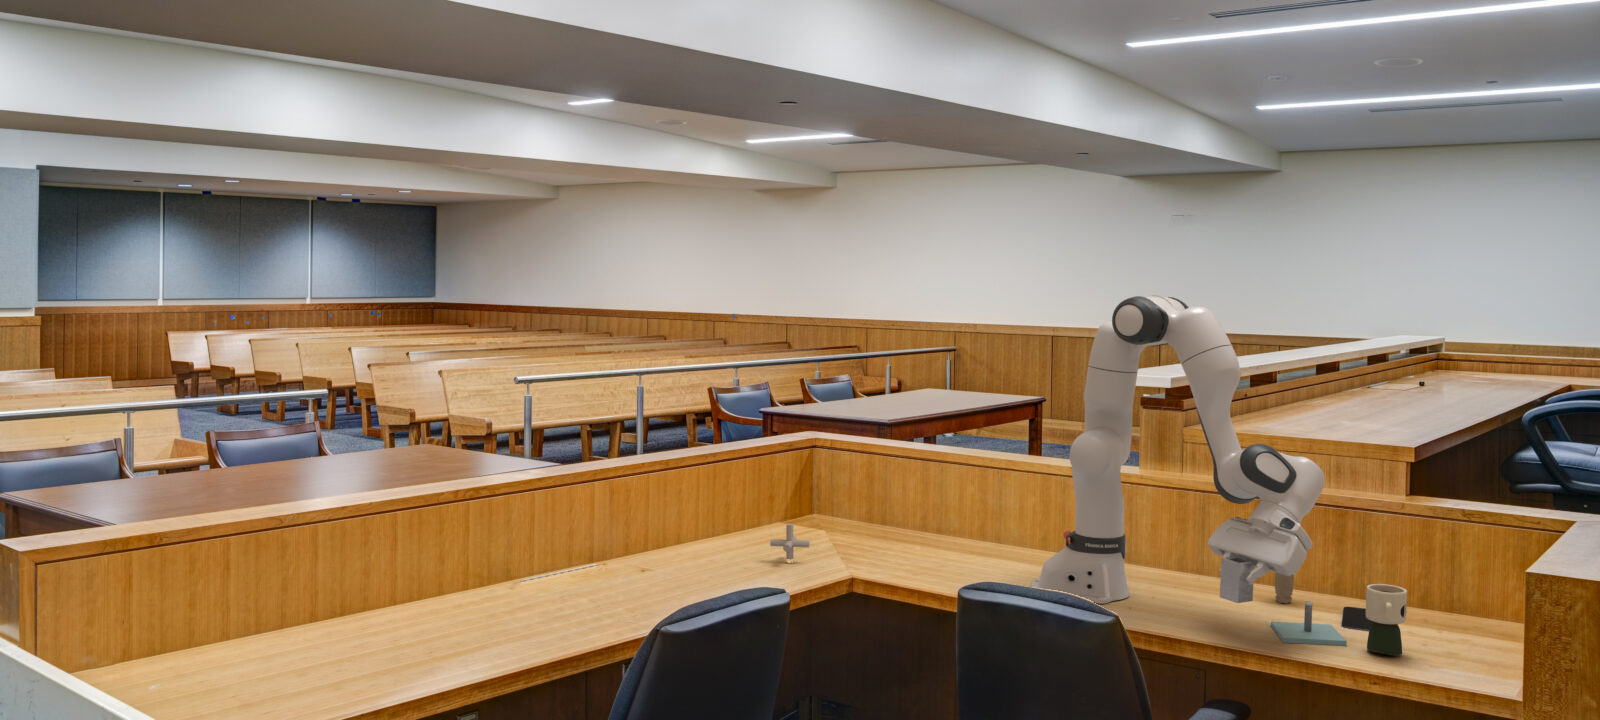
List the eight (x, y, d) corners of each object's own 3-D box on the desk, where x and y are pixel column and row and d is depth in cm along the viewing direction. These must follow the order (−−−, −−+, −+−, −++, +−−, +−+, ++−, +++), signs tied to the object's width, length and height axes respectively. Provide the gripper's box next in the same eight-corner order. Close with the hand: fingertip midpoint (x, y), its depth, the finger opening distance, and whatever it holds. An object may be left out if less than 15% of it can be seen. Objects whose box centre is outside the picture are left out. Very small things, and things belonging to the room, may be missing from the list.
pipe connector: (806, 568, 290) (806, 529, 289) (767, 566, 292) (767, 528, 291) (811, 558, 300) (811, 521, 299) (774, 557, 301) (774, 519, 301)
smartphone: (1340, 626, 242) (1343, 605, 255) (1340, 631, 242) (1343, 610, 255) (1379, 631, 239) (1380, 610, 252) (1379, 636, 239) (1379, 615, 252)
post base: (1283, 642, 232) (1284, 608, 232) (1270, 626, 243) (1271, 593, 242) (1346, 645, 230) (1347, 611, 229) (1331, 629, 241) (1332, 596, 240)
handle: (1302, 604, 259) (1304, 539, 257) (1274, 605, 258) (1276, 539, 257) (1292, 598, 263) (1294, 534, 262) (1264, 599, 263) (1266, 534, 262)
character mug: (1408, 664, 219) (1410, 597, 218) (1366, 659, 222) (1369, 593, 221) (1401, 647, 229) (1403, 583, 228) (1361, 642, 232) (1364, 579, 231)
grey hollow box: (1234, 594, 235) (1236, 556, 234) (1252, 600, 231) (1254, 561, 230) (1219, 597, 233) (1221, 558, 232) (1237, 603, 229) (1240, 564, 228)
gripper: (1223, 506, 243) (1188, 555, 239) (1306, 526, 225) (1269, 581, 221) (1237, 524, 245) (1202, 574, 241) (1320, 547, 227) (1283, 601, 223)
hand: (1235, 577), depth 231 cm, fingers closed on grey hollow box, 5 cm apart
